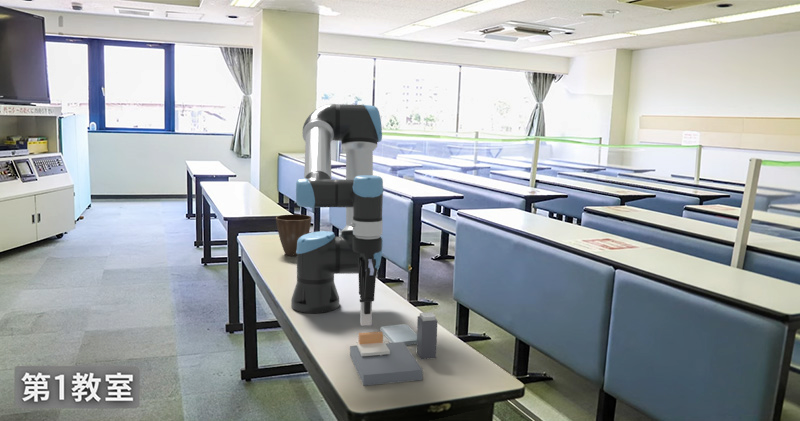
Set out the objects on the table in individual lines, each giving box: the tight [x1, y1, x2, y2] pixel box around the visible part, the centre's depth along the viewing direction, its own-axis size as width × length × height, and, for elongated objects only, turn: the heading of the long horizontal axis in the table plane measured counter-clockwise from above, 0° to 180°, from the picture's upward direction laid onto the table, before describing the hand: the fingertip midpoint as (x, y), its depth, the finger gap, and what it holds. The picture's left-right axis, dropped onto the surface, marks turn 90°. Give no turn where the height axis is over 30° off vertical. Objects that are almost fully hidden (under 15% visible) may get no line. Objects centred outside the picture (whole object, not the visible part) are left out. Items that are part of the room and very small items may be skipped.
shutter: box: [355, 330, 390, 357], centre depth 146 cm, size 7×7×3 cm
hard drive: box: [379, 323, 417, 346], centre depth 163 cm, size 2×8×12 cm
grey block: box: [416, 311, 438, 360], centre depth 149 cm, size 4×4×11 cm
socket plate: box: [349, 342, 424, 386], centre depth 143 cm, size 17×14×2 cm
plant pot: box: [275, 214, 312, 257], centre depth 250 cm, size 15×15×16 cm
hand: (365, 324), depth 154 cm, fingers closed
